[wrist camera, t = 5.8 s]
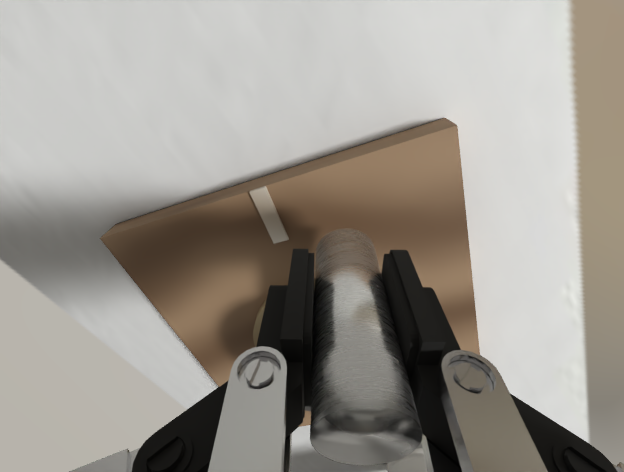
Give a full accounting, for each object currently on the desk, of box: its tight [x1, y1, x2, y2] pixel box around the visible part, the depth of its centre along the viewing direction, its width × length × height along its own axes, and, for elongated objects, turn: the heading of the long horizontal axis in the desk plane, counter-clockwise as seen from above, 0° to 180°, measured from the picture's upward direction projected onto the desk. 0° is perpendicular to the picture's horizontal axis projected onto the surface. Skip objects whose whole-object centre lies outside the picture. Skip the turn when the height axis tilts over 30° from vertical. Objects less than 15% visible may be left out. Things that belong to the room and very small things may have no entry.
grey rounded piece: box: [305, 228, 422, 465], centre depth 13 cm, size 7×13×9 cm, turn 175°
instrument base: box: [100, 118, 480, 426], centre depth 19 cm, size 20×18×3 cm
